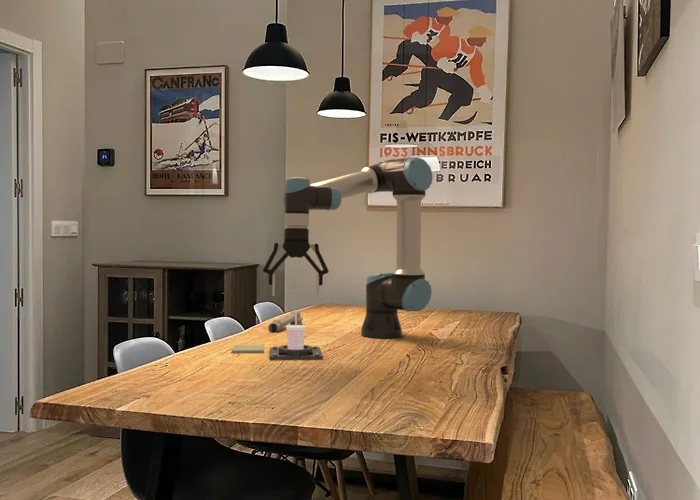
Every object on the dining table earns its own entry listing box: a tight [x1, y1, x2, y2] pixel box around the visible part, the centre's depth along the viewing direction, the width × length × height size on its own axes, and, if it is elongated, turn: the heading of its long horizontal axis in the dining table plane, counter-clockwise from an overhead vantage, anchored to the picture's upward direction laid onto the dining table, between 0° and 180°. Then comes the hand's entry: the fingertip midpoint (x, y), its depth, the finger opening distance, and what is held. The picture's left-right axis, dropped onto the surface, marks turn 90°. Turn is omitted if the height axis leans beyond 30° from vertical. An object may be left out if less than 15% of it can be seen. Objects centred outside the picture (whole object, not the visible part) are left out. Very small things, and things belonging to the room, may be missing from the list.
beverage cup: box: [285, 309, 306, 349], centre depth 217 cm, size 6×6×14 cm
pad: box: [231, 344, 265, 354], centre depth 224 cm, size 10×10×1 cm
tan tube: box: [267, 309, 303, 333], centre depth 274 cm, size 5×7×25 cm
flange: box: [269, 344, 324, 361], centre depth 217 cm, size 16×16×2 cm
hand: (295, 295), depth 216 cm, fingers open, 13 cm apart
